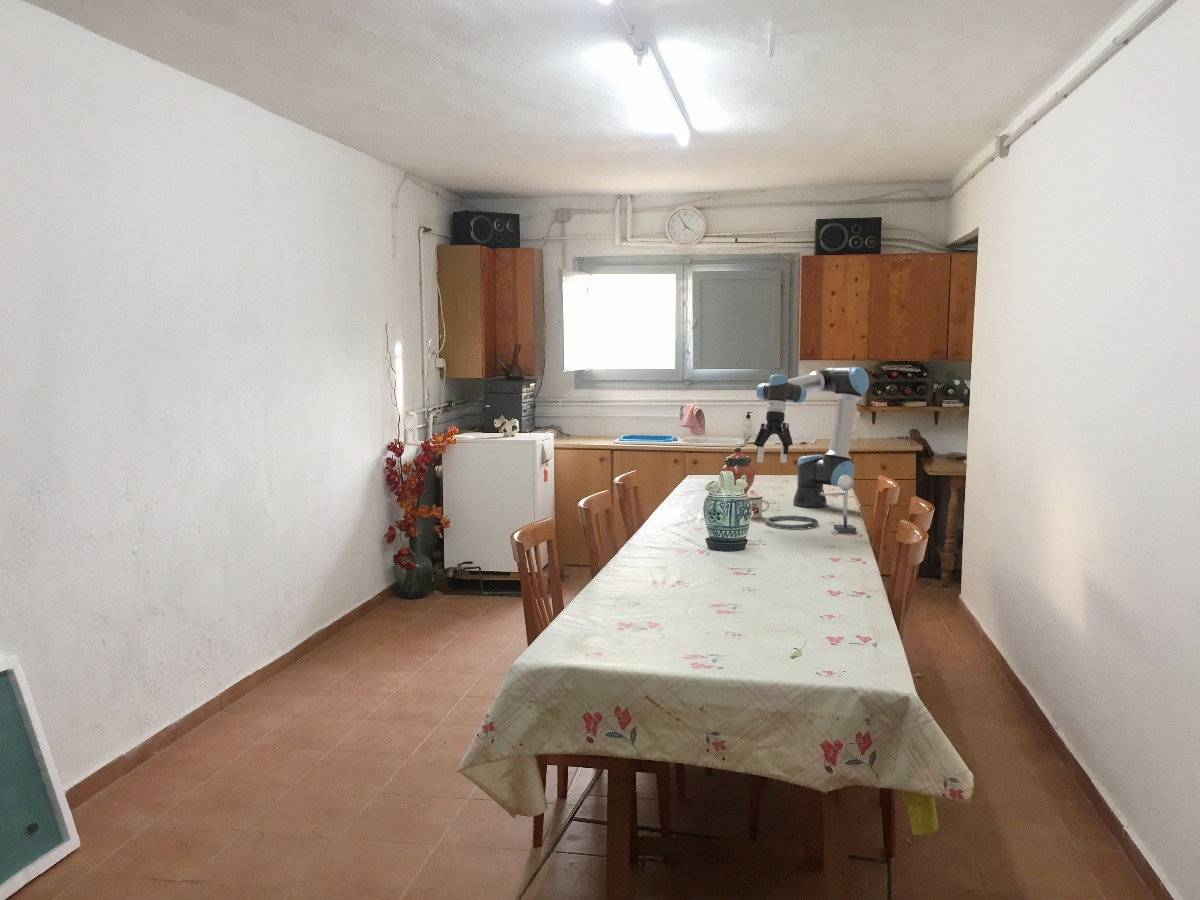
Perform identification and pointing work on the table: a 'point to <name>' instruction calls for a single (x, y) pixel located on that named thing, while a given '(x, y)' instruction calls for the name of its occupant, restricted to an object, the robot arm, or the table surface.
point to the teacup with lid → (757, 503)
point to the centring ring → (767, 522)
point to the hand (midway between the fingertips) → (771, 462)
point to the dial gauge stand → (845, 484)
